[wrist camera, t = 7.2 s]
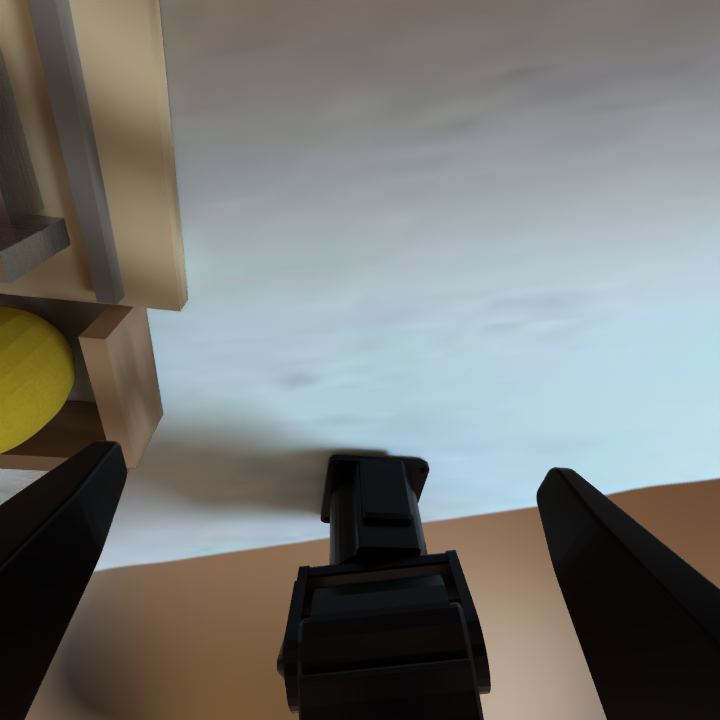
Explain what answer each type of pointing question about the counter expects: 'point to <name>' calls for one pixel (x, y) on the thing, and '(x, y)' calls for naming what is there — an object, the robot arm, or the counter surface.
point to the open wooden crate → (103, 396)
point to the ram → (21, 198)
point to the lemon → (31, 375)
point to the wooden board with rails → (98, 148)
